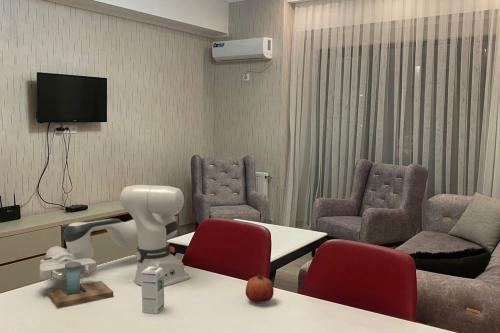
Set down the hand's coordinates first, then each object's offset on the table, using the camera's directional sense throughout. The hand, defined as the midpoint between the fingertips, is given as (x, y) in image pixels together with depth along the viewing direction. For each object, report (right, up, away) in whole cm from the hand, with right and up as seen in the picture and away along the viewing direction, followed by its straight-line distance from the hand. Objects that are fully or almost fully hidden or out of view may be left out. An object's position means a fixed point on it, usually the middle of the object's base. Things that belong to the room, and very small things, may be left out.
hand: (73, 274), depth 171 cm
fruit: (+68, -10, -2) cm, 69 cm away
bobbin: (-1, -8, +1) cm, 8 cm away
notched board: (+2, -8, +1) cm, 9 cm away
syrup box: (+31, -10, -10) cm, 34 cm away
